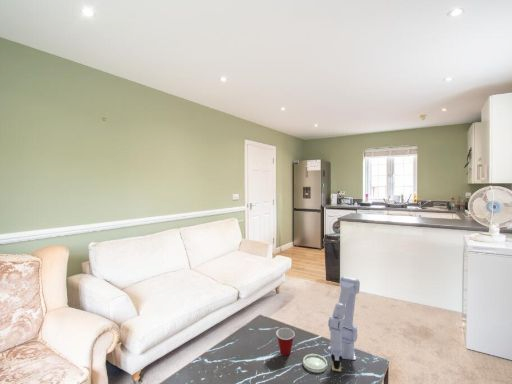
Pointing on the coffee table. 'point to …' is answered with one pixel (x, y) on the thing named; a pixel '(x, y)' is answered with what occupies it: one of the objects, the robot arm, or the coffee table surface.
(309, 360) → the celadon dish
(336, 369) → the birch block
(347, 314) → the robot arm
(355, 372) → the coffee table surface
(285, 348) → the plastic cup
